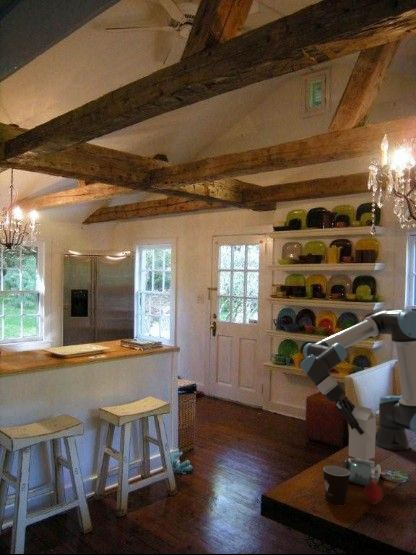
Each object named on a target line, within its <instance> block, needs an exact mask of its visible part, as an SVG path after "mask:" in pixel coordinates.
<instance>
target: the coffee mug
mask: <svg viewBox="0 0 416 555" xmlns="http://www.w3.org/2000/svg"><path fill="white" fill-rule="evenodd" d="M322 468H323V469H322V472H323V484H324V487H323V488H324V498H325V502H326V501H327V502H328V503H327V502H326V503H327V504H329V503H330V504H329V505H331V504H333V505H332V506H335V505H343V506H345V505H346V501H347V495H348V490H349V483H350V482H349V477H350V471H349V470H347V469H345V468H343V466H342V467H341V466H337V465H326V466H324V467H322ZM344 504H345V505H344Z"/></svg>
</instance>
